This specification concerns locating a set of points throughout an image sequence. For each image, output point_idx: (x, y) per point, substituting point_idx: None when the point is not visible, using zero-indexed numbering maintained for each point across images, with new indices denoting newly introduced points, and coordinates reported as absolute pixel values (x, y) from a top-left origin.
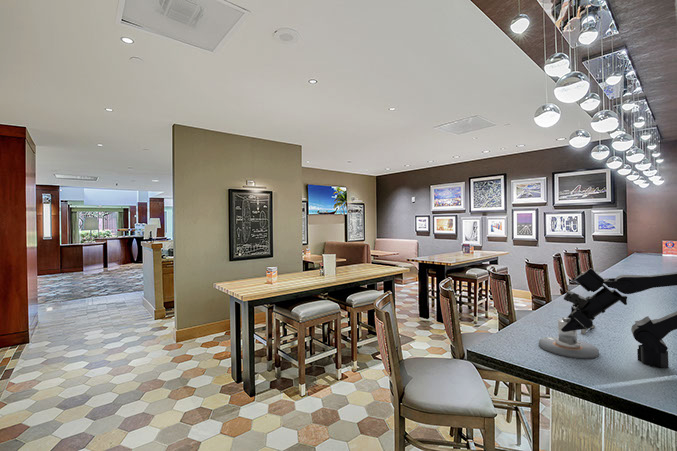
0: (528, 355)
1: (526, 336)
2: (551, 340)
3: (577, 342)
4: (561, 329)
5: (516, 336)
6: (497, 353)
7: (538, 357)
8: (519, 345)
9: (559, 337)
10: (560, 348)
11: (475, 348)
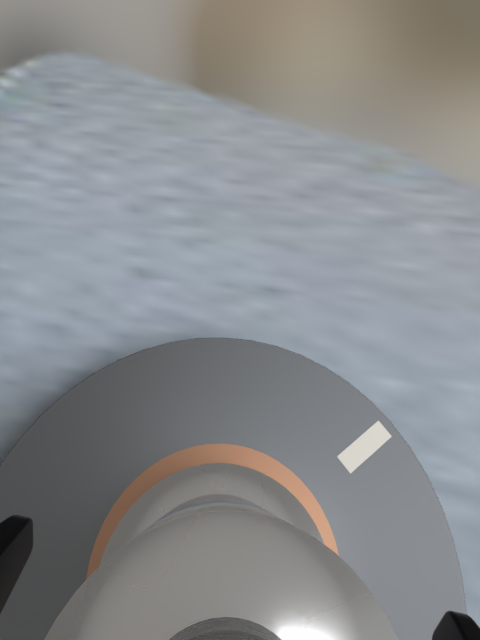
0: (37, 271)
1: (452, 305)
2: (307, 444)
3: None
4: (3, 521)
5: (411, 246)
6: (30, 130)
7: (11, 323)
8: (222, 243)
9: (187, 501)
10: (92, 487)
11: (83, 55)
